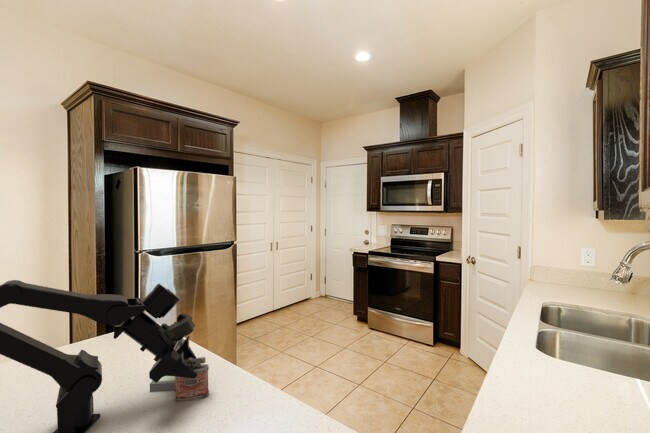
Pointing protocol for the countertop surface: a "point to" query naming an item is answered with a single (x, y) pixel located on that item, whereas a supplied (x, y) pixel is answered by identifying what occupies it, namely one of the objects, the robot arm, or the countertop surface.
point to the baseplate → (163, 384)
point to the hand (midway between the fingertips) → (197, 370)
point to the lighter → (193, 382)
